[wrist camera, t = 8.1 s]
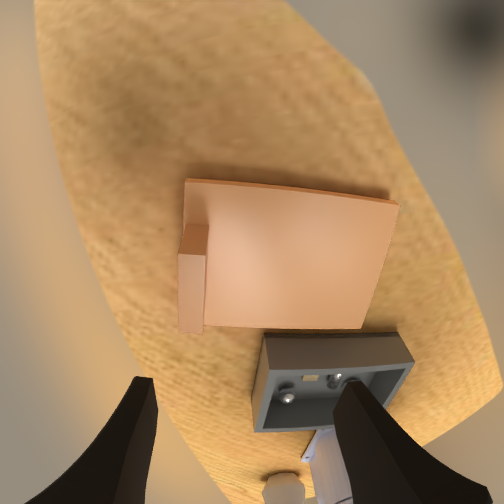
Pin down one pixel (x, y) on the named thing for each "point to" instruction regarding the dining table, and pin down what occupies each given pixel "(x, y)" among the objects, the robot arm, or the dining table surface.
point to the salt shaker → (284, 489)
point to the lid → (279, 256)
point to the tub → (322, 376)
